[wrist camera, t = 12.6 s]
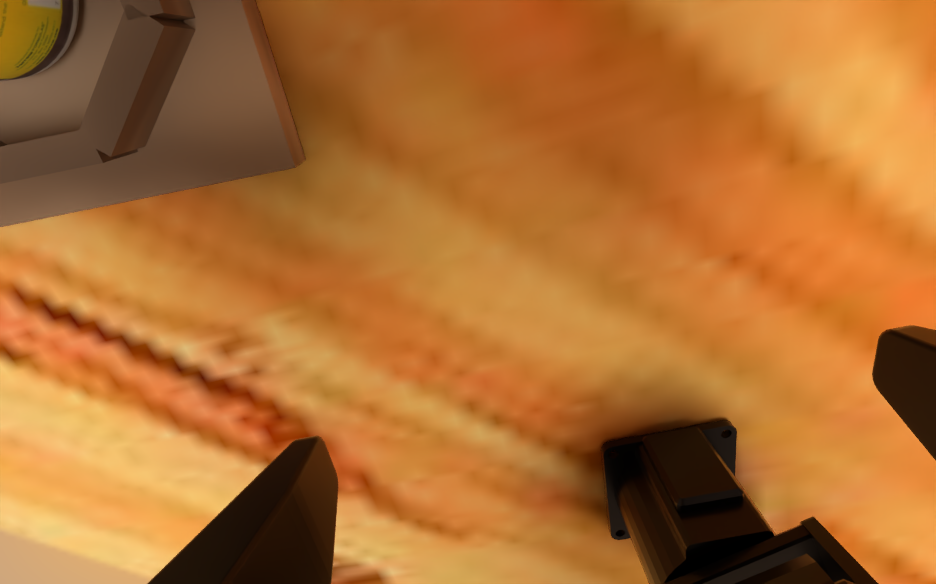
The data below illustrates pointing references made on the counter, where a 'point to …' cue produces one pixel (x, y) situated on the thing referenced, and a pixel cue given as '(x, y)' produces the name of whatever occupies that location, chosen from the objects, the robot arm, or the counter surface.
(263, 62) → the walnut stand
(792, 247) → the counter surface
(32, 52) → the supplement bottle
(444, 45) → the counter surface
